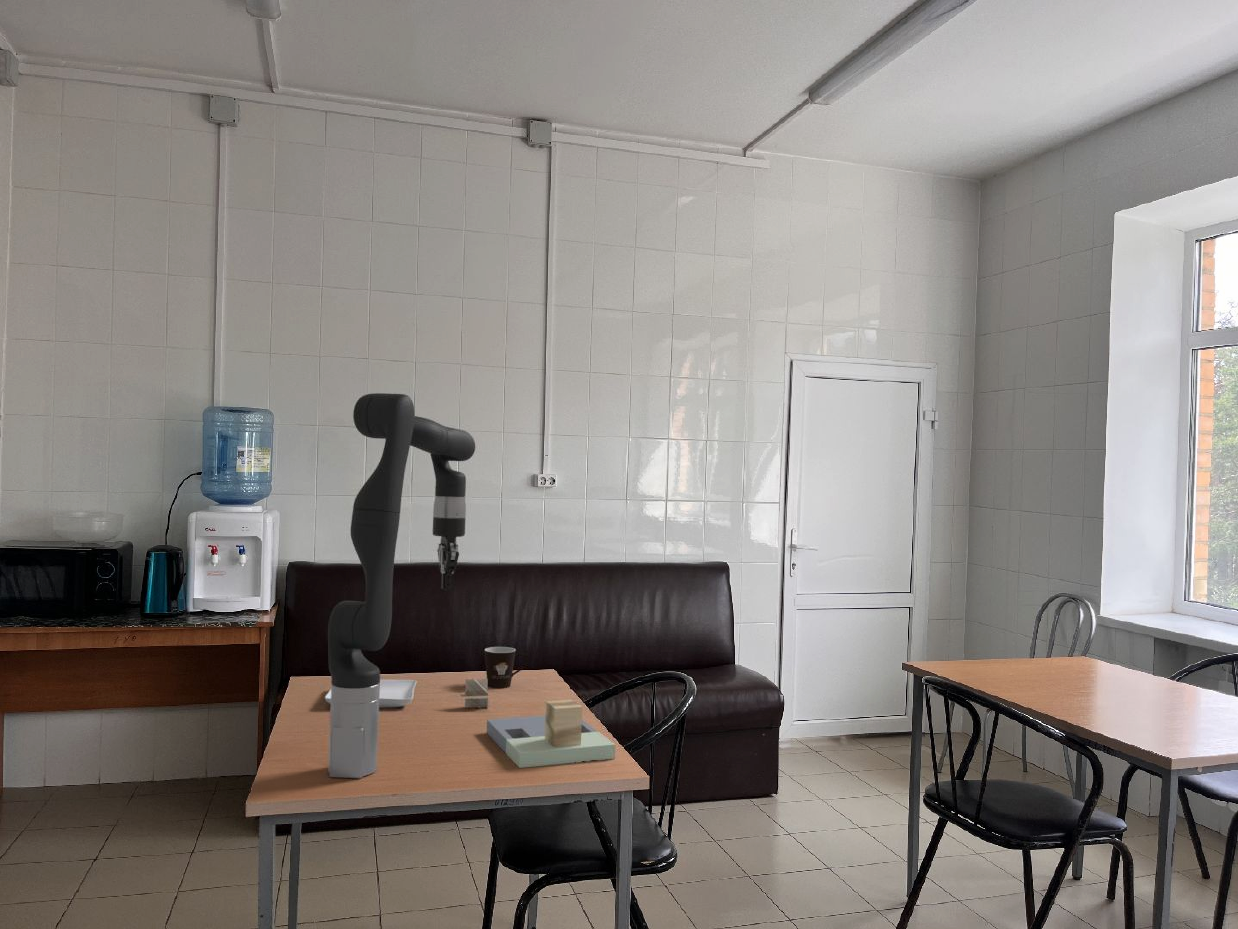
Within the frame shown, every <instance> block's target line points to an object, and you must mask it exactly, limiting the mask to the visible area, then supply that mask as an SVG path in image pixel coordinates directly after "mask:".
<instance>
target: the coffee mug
mask: <svg viewBox="0 0 1238 929" xmlns="http://www.w3.org/2000/svg"><path fill="white" fill-rule="evenodd" d="M516 651H517V650H516V648H514V647H509V646H508V647H507V646H491V647H486V648H485V649H484V660H485V672H486V674H485V675H486V679H488V686H487V688H489V689H490V688H491V689H499V690H500V689H507V688H511V684H512V679H513V676H514V675H516V674H518V673H519V672H521V671H523V669H524V668H525V667H527V665H528V663H529V657H528V656H527V654H525V653H518V654H516ZM522 656H523V657H524V658H525V660H526V661H525V663H524V665H523V666H521V667H520V668H519V669H517V670H515V671H514V665H515V662H516V660H517V659H518V658H519V657H522ZM513 671H514V672H513Z"/></svg>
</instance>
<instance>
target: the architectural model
mask: <svg viewBox="0 0 1238 929" xmlns="http://www.w3.org/2000/svg"><path fill="white" fill-rule="evenodd" d="M489 694H490V693H489V690H488V679H487V678H465V692H464V693H461V694H459V695H460V697H459V698H460V699H464V708H478V709H482V708H486V709H489V697H490V696H489Z"/></svg>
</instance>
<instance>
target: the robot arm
mask: <svg viewBox="0 0 1238 929" xmlns="http://www.w3.org/2000/svg"><path fill="white" fill-rule="evenodd" d="M415 411H416V410H415V405H414V402H413V400H412V398H411V397H410V396H409V395H408V394H403V393H384V392H383V393H379V392H377V393H375V392H374V393H367V394H364V395H362V396H360V397H359V398H358V400H357V401H356V403H355V405H354V409H353V412H352V413H353V415H352V416H353V417H352V418H353V423H354V426H355V428H356V430H357V431H358V432H359V433H360V434H361V435H363V436H364V437H367V438H370V439H385V441H384V446H383V451H382V455H381V458H380V460H379V462H378V464H377V466H376V468H375V469H374V471H373V472H372V474H371V475H370V476H369V478H368V479H367V480H366V481H365V483H364V484H363V485H362V487H361V488H360V490H359V491H358V493H357V495H356V496H355V498H354V502H353V507H352V514H351V522H350V537H351V542H352V545H353V547H354V550H355V553H356V555H357V557H358V559H359V562H360V564H361V566H362V569H363V572H364V577H365V598H364V601H359V600H357V601H356V600H343V601H340V602H338V603H337V604H336V605H334V607H333V609H332V611H331V612H330V617H329V621H328V624H327V625H328V627H327V645H328V646H327V647H328V649H327V650H328V654H327V655H328V661H327V662H328V670H329V673H330V677H331V687H330V689H331V704H330V710H329V711H330V713H329V715H330V716H329V739H328V741H329V742H328V767H327V768H328V769H327V770H328V772H327V773H328V774H329V777H330V778H346V779H347V778H349V779H362V778H363V777H365V776H369V775H371V774H372V775H373V774H374V773H375V772H377V769H378V748H379V747H378V740H379V738H378V737H379V719H380V717H379V715H380V714H379V712H380V708H379V693H380V679H381V670H380V668H379V667H378V666H377V665H375V664H374V663H372V662H371V661H369V660H368V659H367V658H366V657H365V656H364V654H363V653H362V651H370V652H375V651H379V650H381V649H382V648H383V647H384V646H385V645H386V643H387V641H388V639H389V636H390V633H391V628H392V627H391V626H392V620H393V619H392V618H393V617H392V616H393V584H394V583H393V581H394V580H393V578H394V569H395V568H394V565H395V559H396V558H395V557H396V556H395V555H396V549H397V542H398V533H399V528H400V526H399V525H400V520H401V519H400V517H401V509H402V506H401V505H402V497H403V496H402V495H403V487H404V479H405V474H406V473H405V472H406V467H407V460H408V458H409V457H408V456H409V452H410V447H414V448H415V449H418V450H421V451H423V452H425V453H428V454H430V459H431V462H432V468H433V472H434V477H435V485H434V486H435V489H434V490H435V491H434V492H435V493H434V502H433V509H432V510H433V512H432V536H433V537H434V536H435V537H440V543H438V544H437V545H438V546H437V550H436V551H437V558H438V565H439V566H438V568H439V570H440V574H441V586H440V589H442V590H443V591H451V590H452V589H453V574H454V573H455V572H456V570H457V566H458V561H459V558H460V557H459V556H460V553H459V544H457V538H459V537H464V536H465V534H466V515H467V514H466V513H467V511H466V510H467V505H466V488H467V486H466V485H467V477H466V474H465V473H464V472H461V471H459V470H458V471H457V470H454V469H452V468H451V465H450V463H449V462H465V461H468V460H470V459H471V458H472V457H473V456H474V454H475V451H476V442H475V438H473V435H471V433H469V432H468V431H465V430H463V429H459V428H454V427H448V426H445V425H442V424H441V423H440V422H437V421H434V420H433V419H430V418H427V417H422V416H417V415H415V413H416V412H415Z"/></svg>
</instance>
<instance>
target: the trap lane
mask: <svg viewBox="0 0 1238 929" xmlns="http://www.w3.org/2000/svg"><path fill="white" fill-rule="evenodd" d="M545 718H546V714H544V715H542V714H541V715H531V716H518V717H517V716H516V717H504V718H491V719H486V734H487V735H488V736H489V737H490V738H491V740H493V742H495V743H496V745H498V746H499V748H500V749H501V750H502V751H503V752H504V753H505V754H506V755H507V757H508V758H509V759H511V762H512V761H513V763H514V764H515V765H516V766H517V767H518V768H519V769H523V768H524V769H525V768H531V767H542V766H543V767H544V766H553V765H555V766H556V765H565V764H574V763H575V762H576V763H583V762H582V761H586V762H591V761H590V760H597V761H604V760H606V759H607V760H615V759H616V744H615V743H614V742H613V741H612V740H610V739H609V738H607V737H606V736H605V735H603V734H602V733H601V732H599V730H596V728H594V727H593V726H591V725H590V724H589V723H587V722H586V721H585V720H584V719H582V730H581V745H573V746H562V747H553V746H552V745H551V744H550V743H549V742H548V741H546V740H545Z"/></svg>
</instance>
